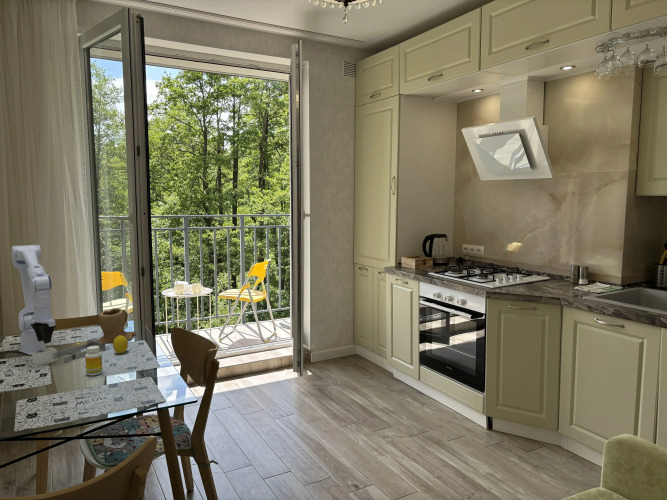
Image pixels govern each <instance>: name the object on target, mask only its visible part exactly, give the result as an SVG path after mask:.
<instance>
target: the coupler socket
mask: <svg viewBox="0 0 667 500" xmlns="http://www.w3.org/2000/svg"><path fill="white" fill-rule="evenodd" d="M86 343H87V344H83V345H79V346H75V345H74V346H72V347H67V348H64V349H60V350H57V357H61V356H64V355H67V354H69V355H67V356H65V357H63V360H64V361H63V362H64V364H68V363H70V362H72V361H73V360H79V359H82V358H85V357H84V356H85V355H86V354H87V353H88V352H87V350H84V349H87V348H88V347H90V346H99V352H101V351H102V352H105V351H107V350H106V349H107V348H106V344H105V343H102V342H99V341H98V340H95V339H87V341H86ZM81 350H83V351H81ZM77 351H80V352H77ZM74 352H77V353H74ZM102 352H101V353H102Z"/></svg>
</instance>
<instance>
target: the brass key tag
mask: <svg viewBox="0 0 667 500" xmlns="http://www.w3.org/2000/svg"><path fill="white" fill-rule="evenodd" d="M83 344H87V342H85V341H84V342H83V341H76V342H74V347H75V346H79V345H83Z"/></svg>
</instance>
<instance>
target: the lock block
mask: <svg viewBox="0 0 667 500" xmlns="http://www.w3.org/2000/svg"><path fill="white" fill-rule="evenodd" d="M57 351H58V348H55V347H52V346H49V347H46V348H44V349H40V350H36V351H32V354H31V359H32V362H31V364H32V365H34V366H37V367H40V366H44V365H48V364H53V363H55V362H57V361H58V356H57Z"/></svg>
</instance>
